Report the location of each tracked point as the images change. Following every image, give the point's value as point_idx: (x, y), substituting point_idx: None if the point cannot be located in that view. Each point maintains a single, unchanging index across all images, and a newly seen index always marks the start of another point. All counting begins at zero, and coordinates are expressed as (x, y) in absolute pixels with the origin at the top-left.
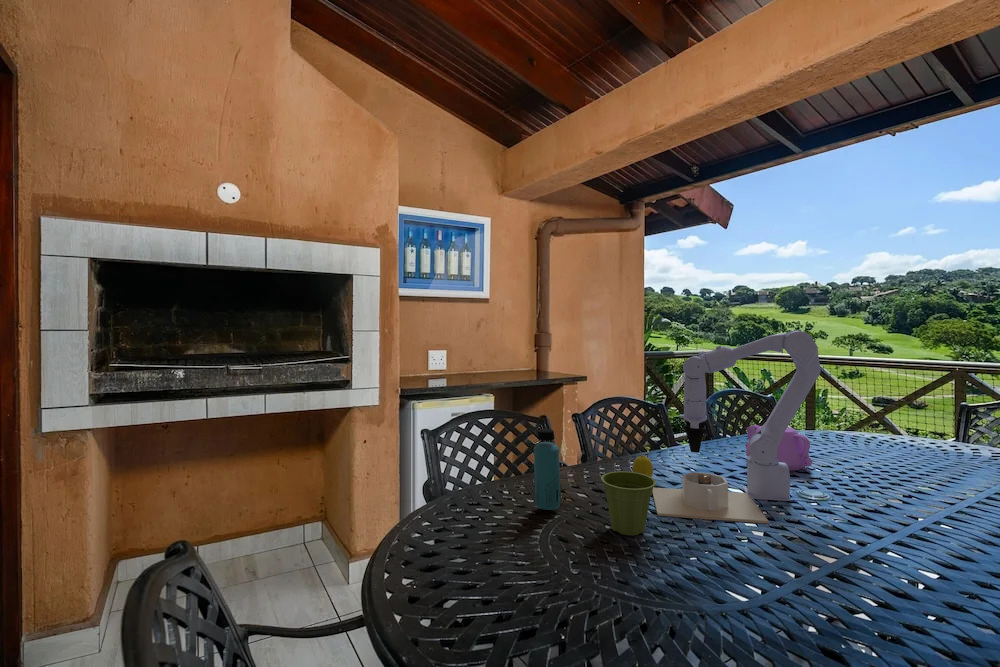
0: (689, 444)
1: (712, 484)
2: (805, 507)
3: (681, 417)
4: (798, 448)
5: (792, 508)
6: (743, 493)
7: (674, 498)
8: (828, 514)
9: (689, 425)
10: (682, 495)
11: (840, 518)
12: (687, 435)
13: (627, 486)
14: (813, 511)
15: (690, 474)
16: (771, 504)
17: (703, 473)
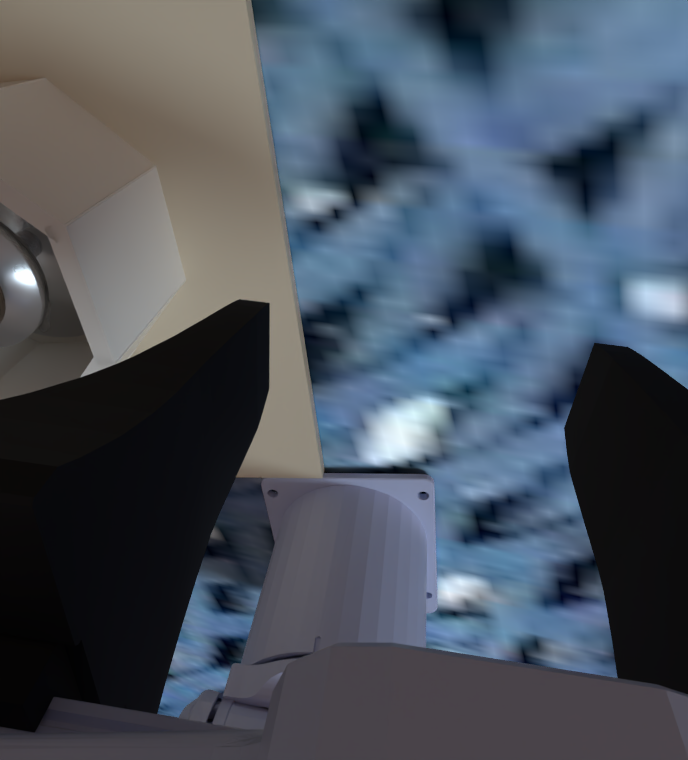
0: (179, 334)
1: (15, 338)
2: (246, 618)
3: (275, 723)
4: None
5: (213, 580)
6: (310, 461)
7: (7, 8)
8: (200, 651)
9: (58, 617)
10: (17, 83)
11: (176, 664)
12: (38, 396)
13: None
14: (211, 625)
15: (2, 199)
16: (229, 529)
17: (78, 316)
